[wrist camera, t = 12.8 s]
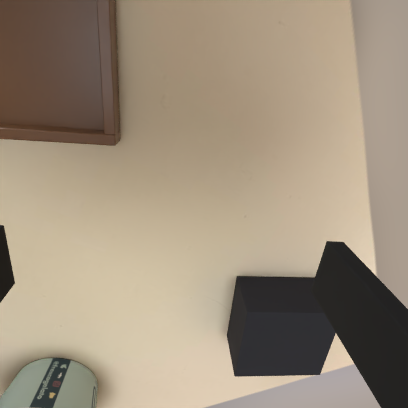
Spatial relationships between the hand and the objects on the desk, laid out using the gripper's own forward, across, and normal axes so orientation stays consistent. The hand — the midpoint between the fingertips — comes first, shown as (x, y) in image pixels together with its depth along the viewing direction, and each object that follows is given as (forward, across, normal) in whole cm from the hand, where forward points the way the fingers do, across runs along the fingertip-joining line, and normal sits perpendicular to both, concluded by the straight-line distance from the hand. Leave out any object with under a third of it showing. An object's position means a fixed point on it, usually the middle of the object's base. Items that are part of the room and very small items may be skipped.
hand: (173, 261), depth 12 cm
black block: (+14, +12, -16) cm, 24 cm away
